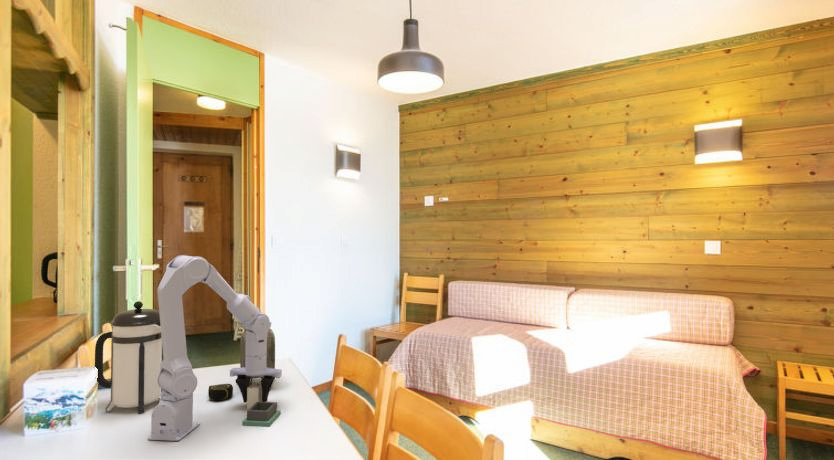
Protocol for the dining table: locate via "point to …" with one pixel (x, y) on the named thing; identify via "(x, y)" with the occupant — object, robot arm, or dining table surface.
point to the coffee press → (132, 358)
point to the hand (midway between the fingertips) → (255, 401)
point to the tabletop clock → (270, 351)
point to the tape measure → (220, 391)
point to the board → (261, 414)
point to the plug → (254, 394)
